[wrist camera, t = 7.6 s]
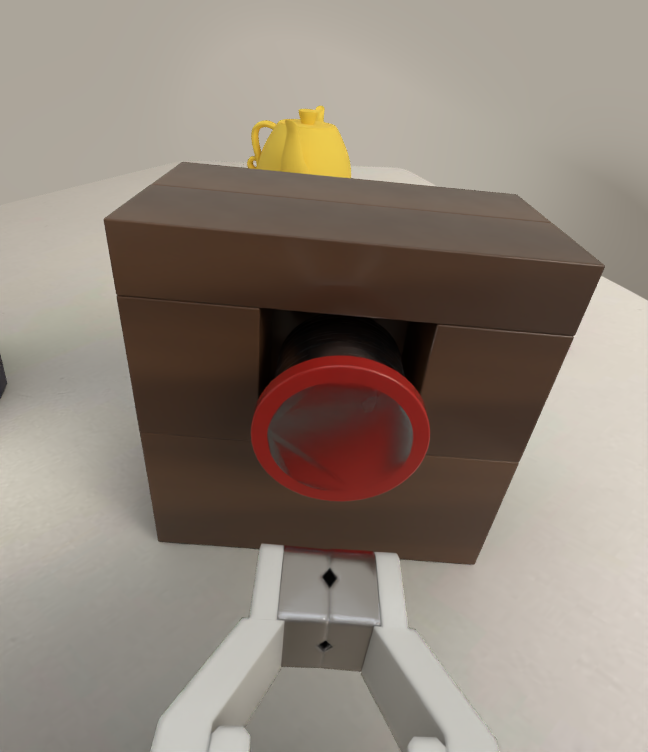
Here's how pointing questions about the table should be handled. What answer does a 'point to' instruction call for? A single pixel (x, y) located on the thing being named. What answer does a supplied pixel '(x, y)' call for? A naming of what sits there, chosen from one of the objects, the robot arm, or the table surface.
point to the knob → (340, 412)
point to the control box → (340, 297)
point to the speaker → (2, 378)
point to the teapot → (302, 146)
